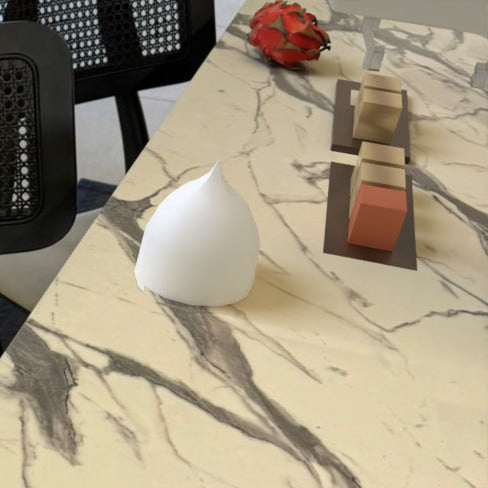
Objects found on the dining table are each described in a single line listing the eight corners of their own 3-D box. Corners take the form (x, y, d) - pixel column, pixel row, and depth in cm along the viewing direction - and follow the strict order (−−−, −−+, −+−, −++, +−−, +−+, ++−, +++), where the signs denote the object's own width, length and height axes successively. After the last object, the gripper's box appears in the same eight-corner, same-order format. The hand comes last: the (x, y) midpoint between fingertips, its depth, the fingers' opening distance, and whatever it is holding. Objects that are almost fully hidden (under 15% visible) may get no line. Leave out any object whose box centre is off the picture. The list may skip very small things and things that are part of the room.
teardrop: (251, 322, 91) (285, 197, 83) (128, 303, 92) (150, 178, 84) (252, 261, 99) (282, 142, 91) (138, 244, 100) (159, 125, 92)
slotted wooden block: (405, 96, 135) (418, 56, 131) (408, 164, 119) (423, 120, 115) (336, 84, 136) (347, 44, 133) (330, 150, 120) (342, 106, 117)
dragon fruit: (236, 59, 145) (311, 95, 142) (227, 36, 137) (306, 73, 134) (269, 3, 143) (345, 38, 140) (262, -24, 135) (342, 12, 132)
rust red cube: (392, 231, 104) (406, 191, 101) (392, 252, 101) (407, 211, 98) (348, 223, 105) (361, 183, 102) (347, 243, 101) (360, 202, 99)
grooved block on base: (409, 182, 115) (425, 137, 112) (414, 277, 99) (433, 229, 96) (328, 167, 116) (341, 123, 113) (320, 259, 100) (335, 211, 97)
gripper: (611, -85, 83) (540, 85, 92) (356, -121, 86) (312, 47, 95) (625, -67, 78) (549, 111, 87) (355, -105, 81) (309, 70, 91)
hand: (423, 77), depth 91 cm, fingers open, 8 cm apart
